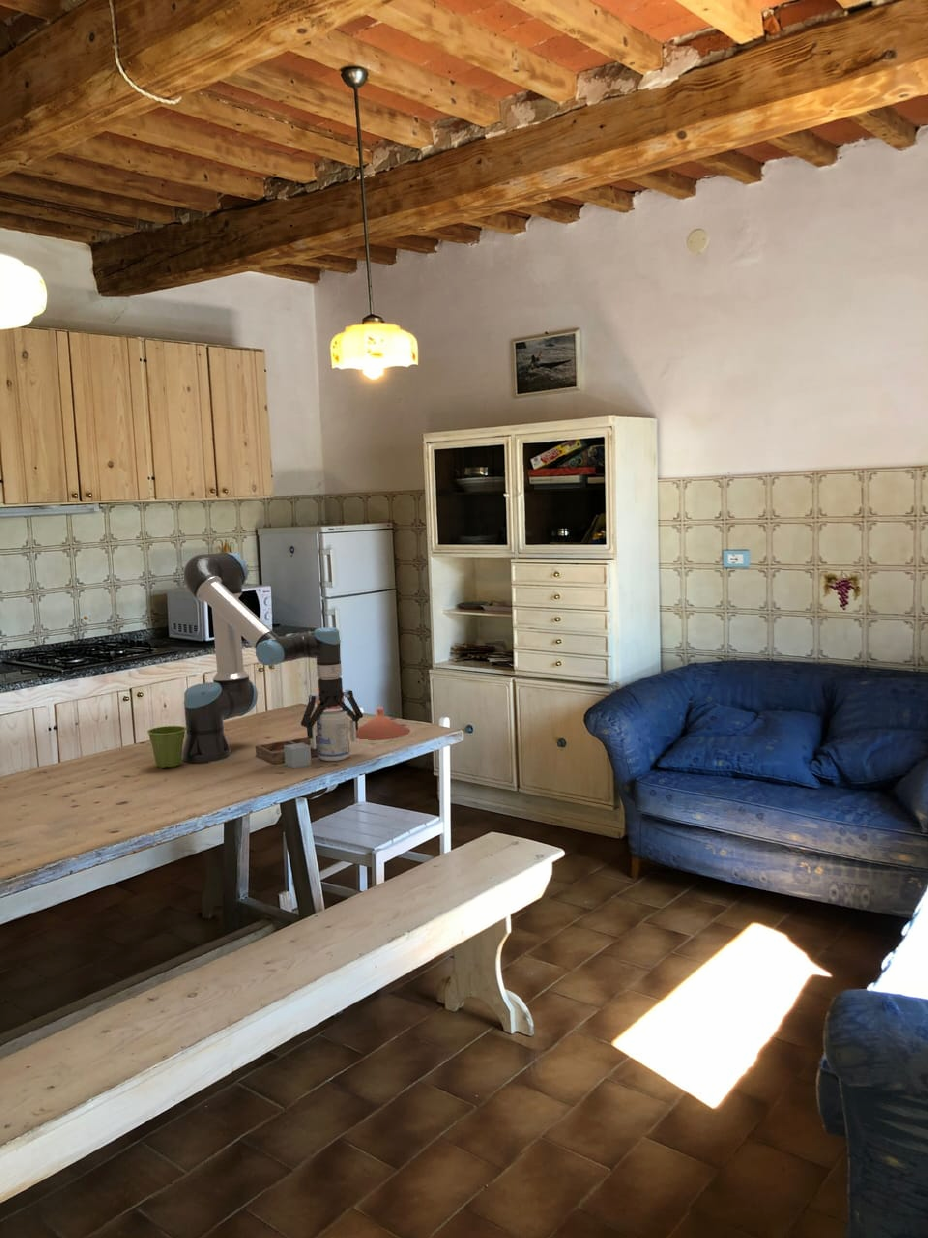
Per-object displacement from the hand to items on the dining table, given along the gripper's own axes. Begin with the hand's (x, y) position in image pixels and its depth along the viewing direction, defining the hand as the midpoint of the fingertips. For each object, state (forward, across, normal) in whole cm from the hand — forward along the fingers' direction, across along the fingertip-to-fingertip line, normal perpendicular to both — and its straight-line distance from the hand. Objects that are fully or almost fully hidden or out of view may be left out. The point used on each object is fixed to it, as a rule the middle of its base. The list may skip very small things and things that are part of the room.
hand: (333, 744), depth 312 cm
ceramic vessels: (+4, +24, +27) cm, 36 cm away
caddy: (+4, -5, +13) cm, 14 cm away
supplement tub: (+4, 0, 0) cm, 5 cm away
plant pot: (+4, -44, +26) cm, 51 cm away
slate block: (+4, -12, 0) cm, 13 cm away
